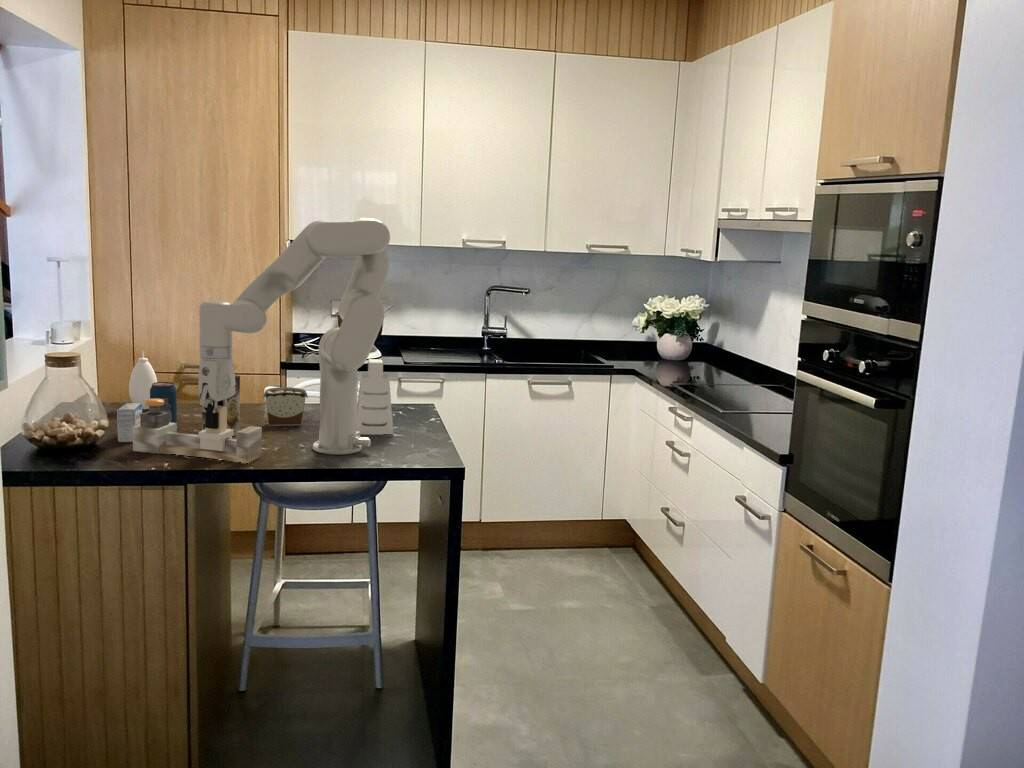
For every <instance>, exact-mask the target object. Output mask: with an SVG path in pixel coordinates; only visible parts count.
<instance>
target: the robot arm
mask: <svg viewBox="0 0 1024 768" xmlns="http://www.w3.org/2000/svg"><path fill="white" fill-rule="evenodd" d="M390 240H391V233H390V231H389V228H388V227H387V225H386V224H385V223H384V222H382V221H381V220H378V219H375V218H367V217H361V218H356V219H354V220H349V221H348V220H345V221H326V220H315V221H312V222H310V223H309V224H307V226H305V227H304V228H303V229H302V231H300V233H299V234H297V236H296V237H295V238H294V239H293V240H292V242H291V243H290V244H289V245H288V246H287V247H286V248H285V249H284V251H282V253H281V254H279V255H278V257H277V258H276V259H275V260H274V261H273V262H272V263H271V264H269V266H267V268H265V269H264V270H263V272H261V273H260V274H259V275H258V276H257V277H255V278H254V279H253V280H252V281H251V283H250V284H249V285H248V286H247V287H246V288H245V289H244V290H243V291H242V292H241V294H239V295H238V297H237V298H236V299H235V300H234V302H233V303H232V304H231V303H230V302H229V301H228V302H227V301H223V300H222V301H221V300H206V301H203V302H202V303H201V304H200V306H199V324H198V325H199V361H200V362H199V369H198V382H197V383H198V385H197V386H198V387H197V388H198V389H197V391H198V398H199V399H200V400H199V405H200V406H201V407H202V406H203V407H204V412H205V427H206V428H211V429H218V428H219V413H217V406H227V408H228V401H229V398H230V397H232V396H233V395H234V394H235V375H236V374H235V364H234V358H233V332H236V333H241V334H242V333H243V334H255V333H259V332H261V331H262V330H263V329H264V328H265V326H266V325H267V319H268V317H267V313H266V312H267V311H268V310H269V308H271V306H272V305H273V304H274V303H276V301H278V300H279V299H280V298H282V297H283V296H284V295H285V294H287V293H290V292H292V291H294V290H296V289H297V288H298V287H300V286H302V284H304V283H305V281H306V280H307V279H308V278H309V277H310V276H311V274H312V273H313V272H314V271H315V270H316V269H317V268H318V267H319V266H320V265H321V263H323V261H325V259H326V258H343V257H344V258H345V257H355V263H354V267H353V270H352V273H351V276H350V278H349V281H348V283H347V285H346V287H345V290H344V292H343V294H342V297H341V298H340V300H339V303H338V308H337V309H338V315H339V317H340V318H341V320H342V321H341V323H340V326H339V327H334V328H330V329H329V330H326V332H324V334H323V335H322V336H321V338H320V341H319V344H318V359H319V360H318V361H319V376H320V378H319V381H320V382H319V384H320V385H319V418H318V421H319V423H318V425H319V426H318V431H319V432H318V440H317V441H315V442H313V444H312V450H314V451H315V452H316V453H320V454H324V455H335V456H336V455H351V454H356V453H359V452H360V451H362V449H363V447H370V446H371V444H372V443H371V442H372V441H371V439H370V437H365V436H364V437H362V435H361V434H360V432H359V431H356V426H357V402H358V392H359V390H358V389H359V388H358V386H359V377H358V375H359V374H358V373H359V372H358V369H359V368H361V367H362V366H363V365H364V364H365V363H366V361H367V360H368V358H369V356H370V354H371V351H372V348H373V346H374V344H375V341H376V340H377V338H378V336H379V332H380V331H381V327H382V325H383V322H384V318H385V306H384V304H383V301H382V300H381V299H380V296H381V294H382V291H383V289H384V285H385V283H386V281H387V277H388V273H389V267H390V259H389V253H388V249H387V247H388V245H389V243H390ZM209 398H211V399H209ZM209 402H211V403H213V406H212V404H211V403H209Z"/></svg>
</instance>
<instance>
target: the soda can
mask: <svg viewBox="0 0 1024 768" xmlns="http://www.w3.org/2000/svg"><path fill="white" fill-rule="evenodd" d="M150 399H163V400H164V405H161V406H160V411H162V412H167V413H169V422H170V423H177V424H178V390H177V387H176V385H175V383H174V382H170V381H157V382H155V383H152V387H151V389H150Z"/></svg>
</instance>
